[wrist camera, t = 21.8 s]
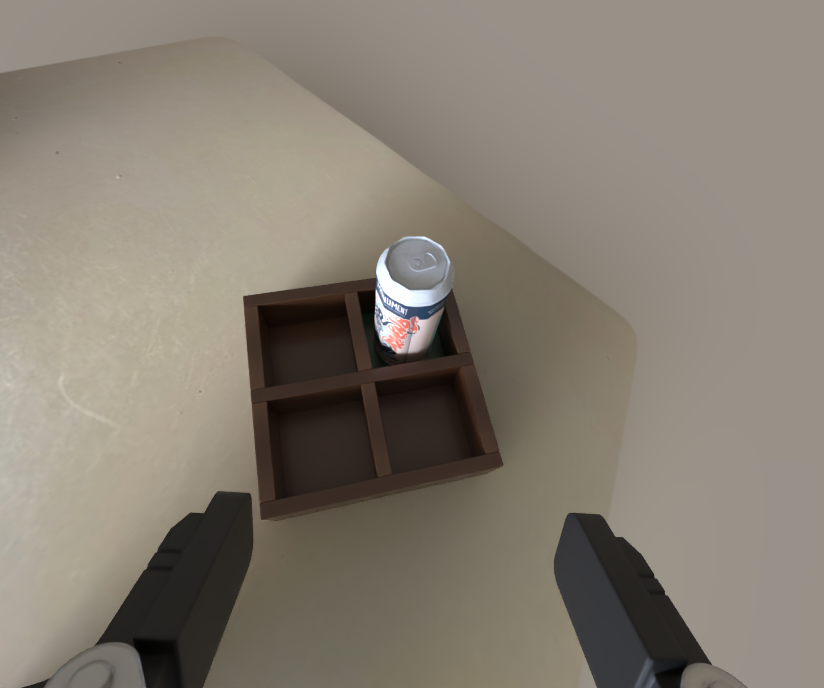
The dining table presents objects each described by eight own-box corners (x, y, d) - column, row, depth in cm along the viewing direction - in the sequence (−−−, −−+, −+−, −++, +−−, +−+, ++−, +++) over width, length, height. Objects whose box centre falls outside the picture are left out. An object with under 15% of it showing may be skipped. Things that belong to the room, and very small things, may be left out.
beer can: (366, 327, 36) (365, 240, 25) (417, 311, 38) (438, 220, 27) (386, 378, 35) (394, 308, 24) (439, 359, 36) (471, 284, 25)
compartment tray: (487, 473, 33) (503, 465, 29) (275, 521, 31) (260, 520, 26) (438, 295, 39) (446, 267, 35) (256, 322, 36) (242, 295, 32)
